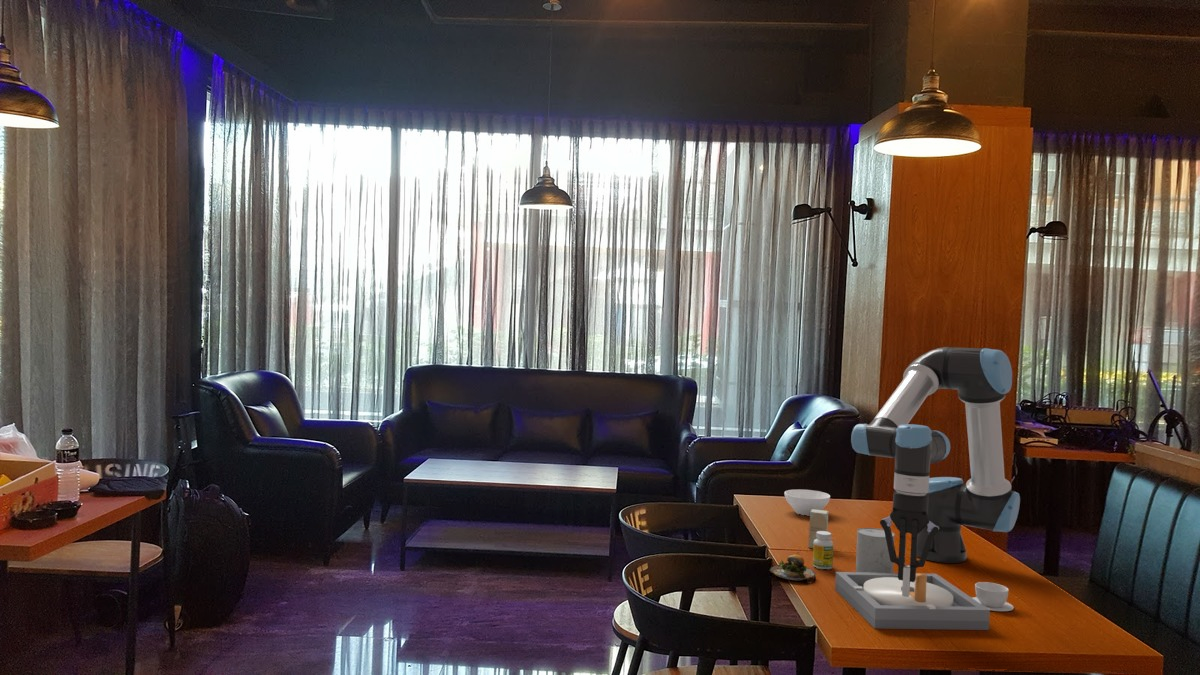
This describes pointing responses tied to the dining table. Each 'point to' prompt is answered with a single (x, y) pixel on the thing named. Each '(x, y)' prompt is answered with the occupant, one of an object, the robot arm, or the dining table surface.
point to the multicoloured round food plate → (793, 569)
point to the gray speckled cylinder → (873, 551)
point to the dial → (920, 594)
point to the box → (817, 524)
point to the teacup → (992, 596)
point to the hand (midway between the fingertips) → (905, 594)
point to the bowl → (806, 500)
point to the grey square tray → (954, 617)
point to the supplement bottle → (823, 550)
